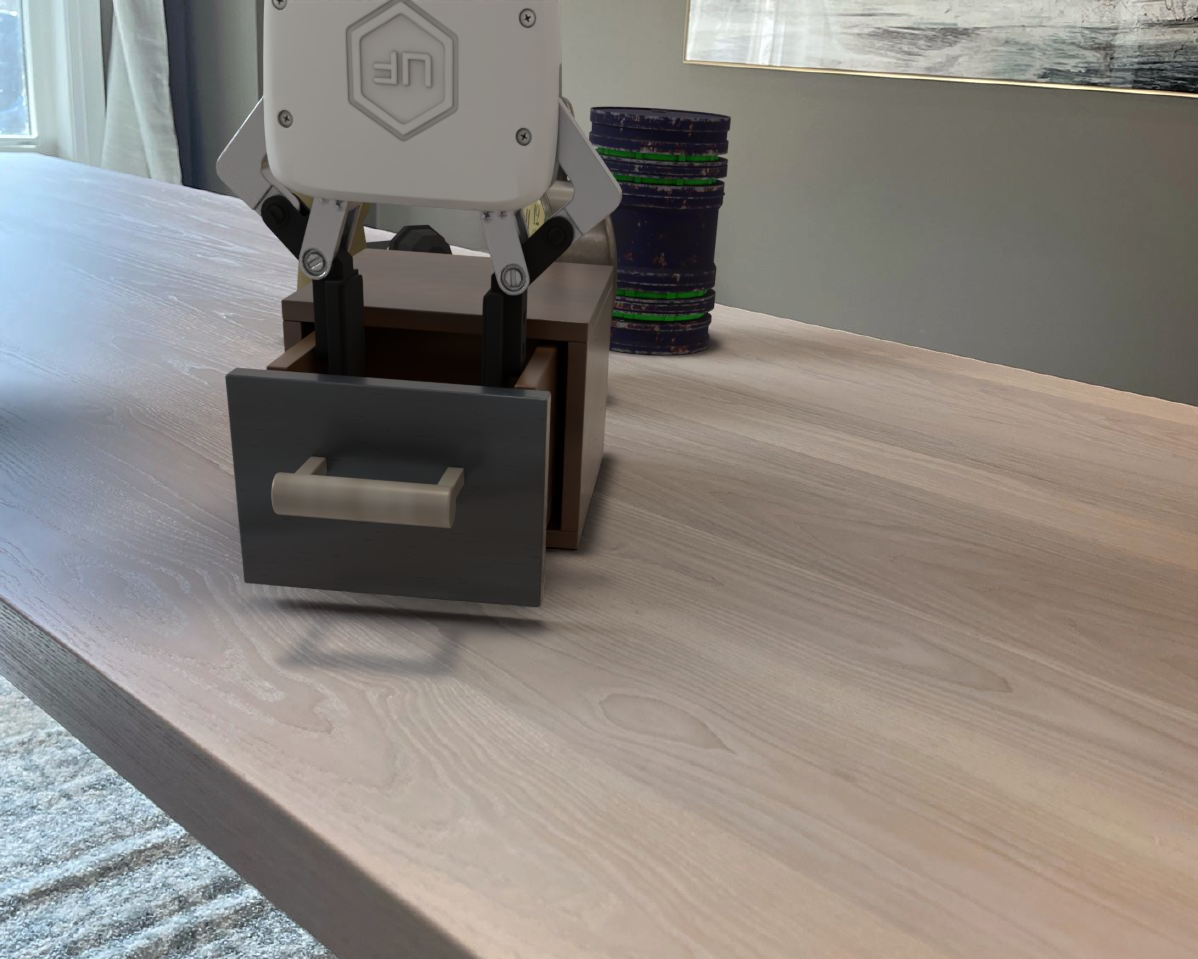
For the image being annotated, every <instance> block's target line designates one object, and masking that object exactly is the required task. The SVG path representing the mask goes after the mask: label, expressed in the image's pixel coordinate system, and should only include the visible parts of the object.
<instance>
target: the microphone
mask: <svg viewBox="0 0 1198 959" xmlns="http://www.w3.org/2000/svg"><path fill="white" fill-rule="evenodd" d="M366 244H367V248H368V249H382V250H396V251H410V252H424V253H438V254H452V255H454V254H453V250H452V248H451V245H450V244H449V243H448V242H447V241H446V238H445V237H444V236H443V235H442V234H440V232H438V231H437V230H436V229H434V228H433V227H432V226H430V224H413V225H404V226H402V227H401V228H400V230H399V231H398V232H397V233H396V234H395V235H394V236H393V237H392V238H391V239H388V240H377V241H366Z"/></svg>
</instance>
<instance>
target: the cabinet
mask: <svg viewBox="0 0 1198 959" xmlns="http://www.w3.org/2000/svg"><path fill="white" fill-rule="evenodd" d="M452 254H453V253H452ZM452 254H438V253H424V252H410V251H396V250H382V249H368V248H366V249H364V250H362V251H361V252H359V253H357V254H356V255H354V256H353V269H358V272H359V274H360V275H362V277H363V295H364V324H365V326H367V327H381V328H394V329H408V330H421V331H435V332H448V333H462V334H475V335H482V310H483V297H484V295H485V294H486V293H487V292H488V291H489V289H490V288H491V275H492V274H493V273H494V272H495V271H494V268H493V264H492V261H491V257H490V256H479V255H477V256H476V255H467V254H466V255H465V254H453V255H452ZM613 274H614V267H613V266H605V265H591V264H577V263H563V262H554V263H552V264H551V265H550V266H549V267H548V268H547V269H546V270H545V271H544V272H543V273H542V274H541V275H540V276H539V277H538V278H537V279H536V280H535V281H534V282H533V283H532V284H530V285H529V286H528V294H527V326H526V338H529V339H542V340H556V341H566V353H565V378H564V403H563V428H562V453H561V473H560V475H561V478H560V491H559V494H558V497H557V499H556V502H555V505H554V508H553V511H552V514H551V517H550V520H549V522H548V525H547V528H546V548H554V549H557V548H558V549H567V550H578V548H579V545H580V541H581V538H582V534H583V530H584V527H585V524H586V519H587V516H588V513H589V510H590V506H591V501H592V497H593V494H594V491H595V486H596V484H597V479H598V476H599V472H600V469H601V465H602V461H603V458H604V448H605V443H604V442H605V434H606V433H605V432H606V413H607V398H608V397H607V395H608V379H609V359H610V350H609V345H610V327H611V310H612V292H613ZM280 303H281V318H282V334H283V348H284V353H285V352H286V351H288V350H289V349H290V348H292V347H293V346H294V345H296V344H297V343H298V342H300V341H301V340H303V339H304V338H305V337H307V336H308V335H309V334H311V333H312V332H313V331H315V325H314V306H313V287H312V282H310V283H309V284H307V285H305V286H304V287H302V288H301V289H299V290H297V289H296V290H295V291H294V292H293V293H291V294H289V295H287V296H286V297H284V298H283V299H281V301H280Z"/></svg>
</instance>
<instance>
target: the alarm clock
mask: <svg viewBox="0 0 1198 959" xmlns="http://www.w3.org/2000/svg"><path fill="white" fill-rule="evenodd" d="M562 101H563V102H564V104H565V105H566V107H567V108H568V110H569V111H570V112H571V114H572V115H573V117H574V118H575V119H576V117H575V111H574V108H573V105H572V103H571V102H570V100H569V99H568V98H567V97H566V96H563V95H562ZM573 194H574V187H573V184H572V182H571V180H570V179H569V178H568V176H567V175H566V173H565V172H564V170H563V169H562V167H561V166H560V164H559V168H558V173H557V177H556V180H555V182H554V184H553V185H552V187H550V188H549V189H548V191H547V192H545V193H544V194H543V195H542V197H541V198H540V199H539V200H537V201H536V202H534V203H533V204H531V205H529V206H526V207H524V208H523V211H524V215H525V219H526V222H527V226H528V230H529V234H530V236H531V235H532V234H533V233H534V232H535V231H536V230H537V229H538V228H539V227H540V226H541V225H542V224H544V223H545V222H546V221H547V220H548V219H549V218H550V217H551V216H552V215H553V214H555V213H556V212H557V211H558V210H559V209H561V208H562V207H563V206H564V205H565V204H567V203H568V202H569V201H570V200H571V199H572V198H573ZM555 262H563V263H577V264H591V265H605V266H613V267H614V274H613V292H612V310H611V320H612V315H613V310H614V304H615V297H616V292H617V251H616V241H615V234H614V229H613V224H612V220H611V217H610V215H608V216H607V217H606V218H605V219H603V220H602V221H601V222H600V223H599V224H597V225H596V226H595V227H594V228H592V229H591V230H590V231H589V232H587V233H586V234H585V235H584V236H582V237H581V238H580V239H579V240H577V241H576V242H575V243H574V244H572V245H571V246H570V247H569V248H568V249H567V250H566V251H565V252H564V253H563V254H562V255H561V256H560V257H559V258H558V259H557V260H556V261H555Z"/></svg>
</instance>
